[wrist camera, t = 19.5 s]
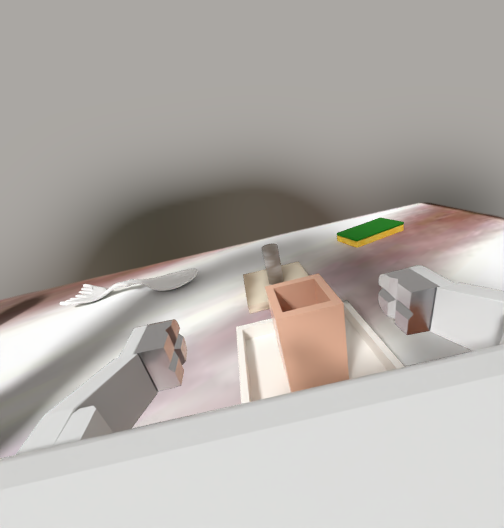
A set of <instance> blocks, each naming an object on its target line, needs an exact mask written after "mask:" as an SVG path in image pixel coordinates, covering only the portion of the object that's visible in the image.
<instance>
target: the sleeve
mask: <svg viewBox="0 0 504 528" xmlns="http://www.w3.org/2000/svg"><path fill="white" fill-rule="evenodd" d="M265 290H266V294H267V299H268V303H269V308H270V312H271V316H272V321H273V325H274V330H275V334H276V339H277V343H278V348H279V352H280V356H281V360H282V363H283V367H284V370H285V374H286V377H287V381H288V384H289V388H290V391H291V392H295V391H300V390H304V389H308V388H313V387H317V386H321V385H326V384H330V383H335V382H339V381H343V380H348V379H349V370H348V357H347V343H346V329H345V316H344V303H343V302H342V301H341V300H340V298H339V297H338V296H337V295H336V294H335V292H334V291H333V290H332V289H331V288H330V286H329V285H328V284H327V283H326V282H325V280H324V279H323V278H322V277H321V276H320V274H319V273H318V274H314V275H310V276H306V277H302V278H298V279H294V280H290V281H286V282H281V283H277V284H273V285H269V286H265Z"/></svg>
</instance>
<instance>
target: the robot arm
mask: <svg viewBox="0 0 504 528" xmlns="http://www.w3.org/2000/svg"><path fill="white" fill-rule="evenodd" d="M379 285H380V286H381V287H382V289H381V290H380V292H379V293H378V302H379V305H380V308H381V309H382V311H383V312H384V313H385V314H386V315H387V316H388V317H391V318H394V319H395V324H396V325H397V326H398V327H399V328H400V329H401V330H402V331H403V332H404V333H405V334H406V335H410V334H415V333H420V332H426V331H430V332H432V333H434V334H436V335H439V336H441V337H443V338H445V339H447V340H450V341H452V342H454V343H456V344H459V345H461V346H463V347H465V348H467V349H470V350H472V352H467V353H463V354H459V355H454V356H450V357H445V358H441V359H436V360H432V361H428V362H423V363H419V364H414V365H410V366H405V367H401V368H396V369H392V370H388V371H383V372H379V373H374V374H370V375H365V376H361V377H357V378H352V379H348V380H343V381H339V382H335V383H330V384H326V385H321V386H317V387H313V388H308V389H304V390H300V391H295V392H291V393H286V394H282V395H278V396H273V397H269V398H265V399H260V400H256V401H251V402H247V403H243V404H238V405H234V406H229V407H225V408H221V409H216V410H212V411H207V412H203V413H199V414H194V415H190V416H185V417H181V418H177V419H172V420H168V421H163V422H159V423H155V424H150V425H146V426H141V427H137V428H133V429H131V428H132V427H133V426H134V424H135V423H136V422H137V420H138V419H139V418H140V416H141V415H142V414H143V412H144V411H145V410H146V408H147V407H148V406H149V404H150V403H151V402H152V400H153V399H154V397H155V396H156V395H157V393H158V392H159V391H163V390H167V389H171V388H175V387H178V386H181V383H182V378H183V373H184V369H183V367H182V365H183V364H184V363H185V361H186V357H187V347H186V343H185V340H184V337H183V336H181V335H180V334H178V333H179V329H180V327H179V325H178V323H177V321H176V320H175V319H173V320H168V321H163V322H158V323H153V324H149V325H143V326H139V327H136V328H134V329H133V331H132V333H131V335H130V337H129V339H128V340H127V342H126V344H125V346H124V348H123V350H122V352H121V353H120V355H119V357H118V358H116V359H113V360H112V361H111V362H109V363H108V364H107V365H106V366H104V367H103V368H102V369H101V370H99V371H98V372H97V373H96V374H94V375H93V376H92V377H91V378H89V379H88V380H87V381H86V382H84V383H83V384H82V385H81V386H79V387H78V388H77V389H76V390H75V391H73V392H72V393H71V394H70V395H68V396H67V397H66V398H65V399H63V400H62V401H61V402H60V403H58V404H57V405H56V406H55V407H53V408H52V409H51V410H50V411H48V412H47V413H46V414H45V415H43V417H42V418H41V420H40V421H39V422H38V424H37V425H36V427H35V428H34V429H33V431H32V432H31V434H30V435H29V437H28V438H27V439H26V441H25V442H24V444H23V445H22V446H21V448H20V449H19V451H18V452H17V454H16V455H13V456H9V457H5V458H0V528H504V291H502V290H497V289H492V288H486V287H481V286H476V285H470V284H465V283H454V282H452V281H450V280H448V279H446V278H445V277H443V276H441V275H439V274H437V273H435V272H433V271H432V270H430V269H428V268H426V267H424V266H421V265H417V266H413V267H409V268H405V269H401V270H397V271H393V272H389V273H385V274H381V275H380V277H379Z"/></svg>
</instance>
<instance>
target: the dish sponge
mask: <svg viewBox="0 0 504 528" xmlns="http://www.w3.org/2000/svg"><path fill="white" fill-rule="evenodd" d="M403 224H404V222H401V221H395V220H390V219H385V218H378V219H375V220H372V221H370V222H367V223H364V224H361V225H358V226H355V227H353V228H350V229H347V230H344V231H341V232H338V233H337V241H340V242H342V243H345V244H348V245H351V246H353V247H360V246H363V245H366V244H368V243H371V242H374V241H376V240H379V239H382V238H384V237H387V236H389V235H392V234H395V233H397V232H400V231H403V226H404V225H403Z"/></svg>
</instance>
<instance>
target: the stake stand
mask: <svg viewBox="0 0 504 528" xmlns="http://www.w3.org/2000/svg"><path fill="white" fill-rule="evenodd" d="M262 252H263V257H264V262H265V266H266V269H265V270H261V271H257V272H252V273H248V274H244V275H243V278H244V284H245V290H246V297H247V303H248V308H249V312H250V313H254V312H258V311H262V310H266V309H270V308H269V303H268V299H267V294H266V290H265V286H269V285H273V284H277V283H281V282H286V281H290V280H294V279H298V278H302V277H306V276H309V275H308V274H307V272H306V271H305V270H304V268H303V267H302V266H301V264H300V263H299V261H298V262H294V263H289V264H285V265H281V263H280V257H279V252H278V246H277V244H267V245H264V246H263V247H262Z"/></svg>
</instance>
